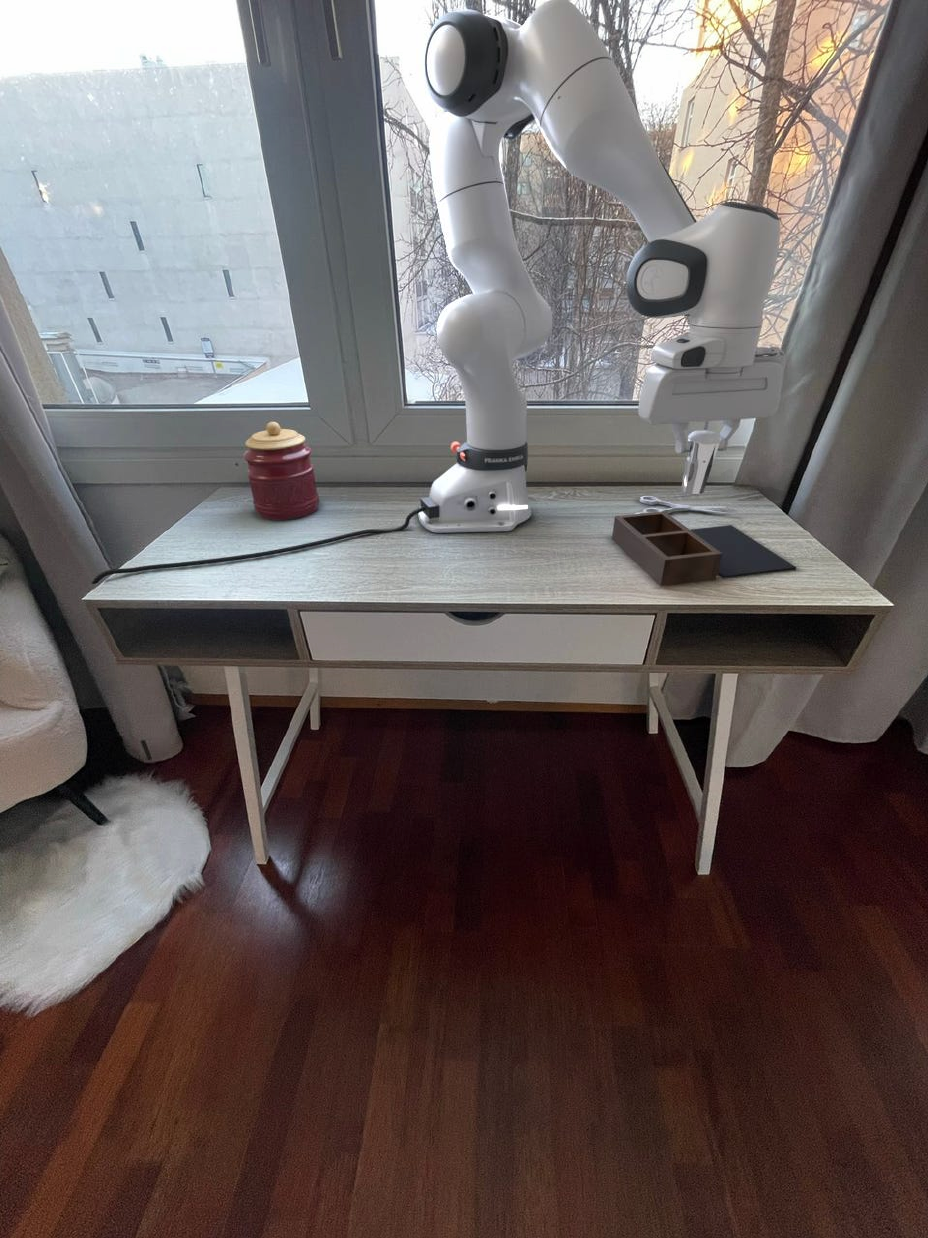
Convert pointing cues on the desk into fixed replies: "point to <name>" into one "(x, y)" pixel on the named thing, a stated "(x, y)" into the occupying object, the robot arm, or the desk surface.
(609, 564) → the desk surface
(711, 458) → the milkshake
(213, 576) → the desk surface
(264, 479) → the kitchen canister
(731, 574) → the mouse pad
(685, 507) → the scissors
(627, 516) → the caddy
